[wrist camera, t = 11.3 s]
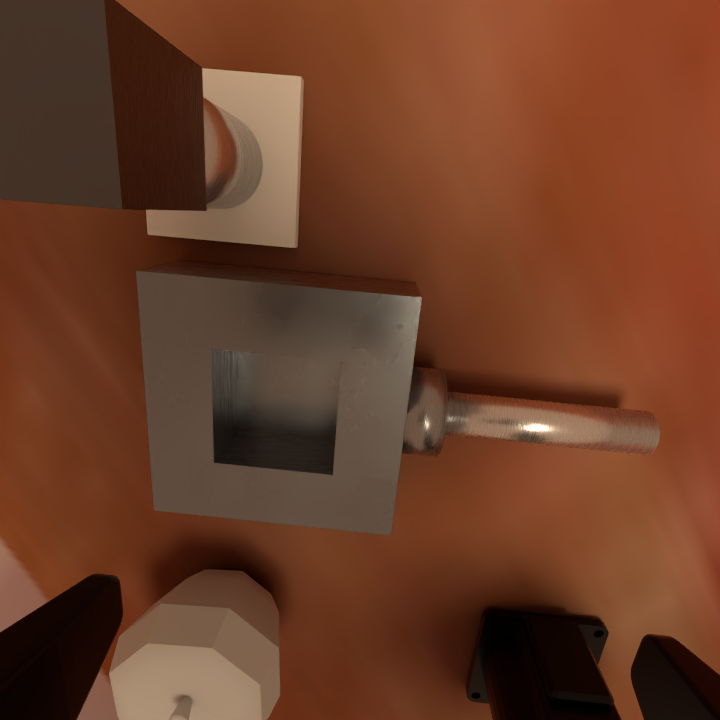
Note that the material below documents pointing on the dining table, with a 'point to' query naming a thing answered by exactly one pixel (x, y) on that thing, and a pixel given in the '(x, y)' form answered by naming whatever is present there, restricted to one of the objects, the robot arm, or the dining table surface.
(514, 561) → the dining table surface
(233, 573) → the apple
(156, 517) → the dining table surface
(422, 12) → the dining table surface
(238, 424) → the block
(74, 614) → the robot arm
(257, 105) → the pad
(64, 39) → the dark square post
